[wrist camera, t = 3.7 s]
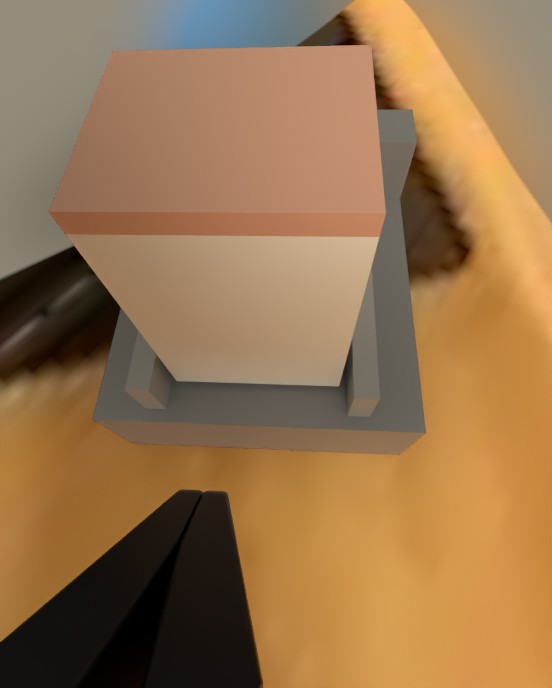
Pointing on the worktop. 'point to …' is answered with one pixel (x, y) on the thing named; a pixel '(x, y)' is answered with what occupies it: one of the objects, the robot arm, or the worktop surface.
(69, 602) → the robot arm
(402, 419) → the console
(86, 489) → the worktop surface
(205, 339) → the white block
